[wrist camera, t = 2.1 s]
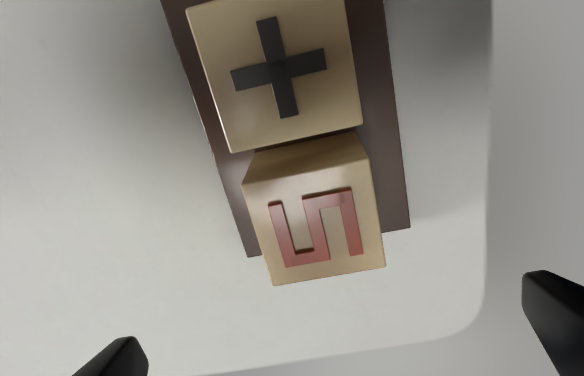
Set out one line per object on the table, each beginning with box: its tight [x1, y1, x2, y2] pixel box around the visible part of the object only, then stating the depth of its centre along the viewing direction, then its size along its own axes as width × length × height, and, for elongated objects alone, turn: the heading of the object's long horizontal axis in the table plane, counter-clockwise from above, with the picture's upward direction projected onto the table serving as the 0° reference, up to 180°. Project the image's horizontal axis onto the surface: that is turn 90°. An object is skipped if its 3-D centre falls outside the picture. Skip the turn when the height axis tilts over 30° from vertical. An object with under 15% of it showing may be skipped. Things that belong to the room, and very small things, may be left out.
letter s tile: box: [241, 131, 386, 286], centre depth 14 cm, size 4×4×4 cm
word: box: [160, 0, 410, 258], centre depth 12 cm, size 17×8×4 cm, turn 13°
